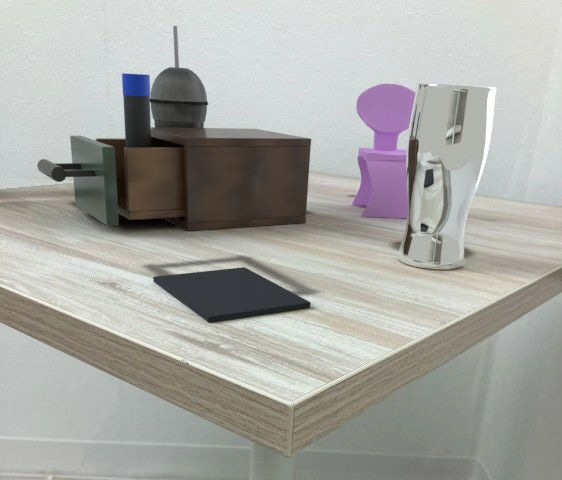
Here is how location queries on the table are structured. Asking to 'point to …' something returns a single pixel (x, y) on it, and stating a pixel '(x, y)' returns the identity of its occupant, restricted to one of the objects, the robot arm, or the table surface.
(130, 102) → the marker
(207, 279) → the mat
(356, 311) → the table surface
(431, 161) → the beer glass
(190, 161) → the cabinet
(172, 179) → the drawer
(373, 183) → the toy chair
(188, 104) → the beverage cup
